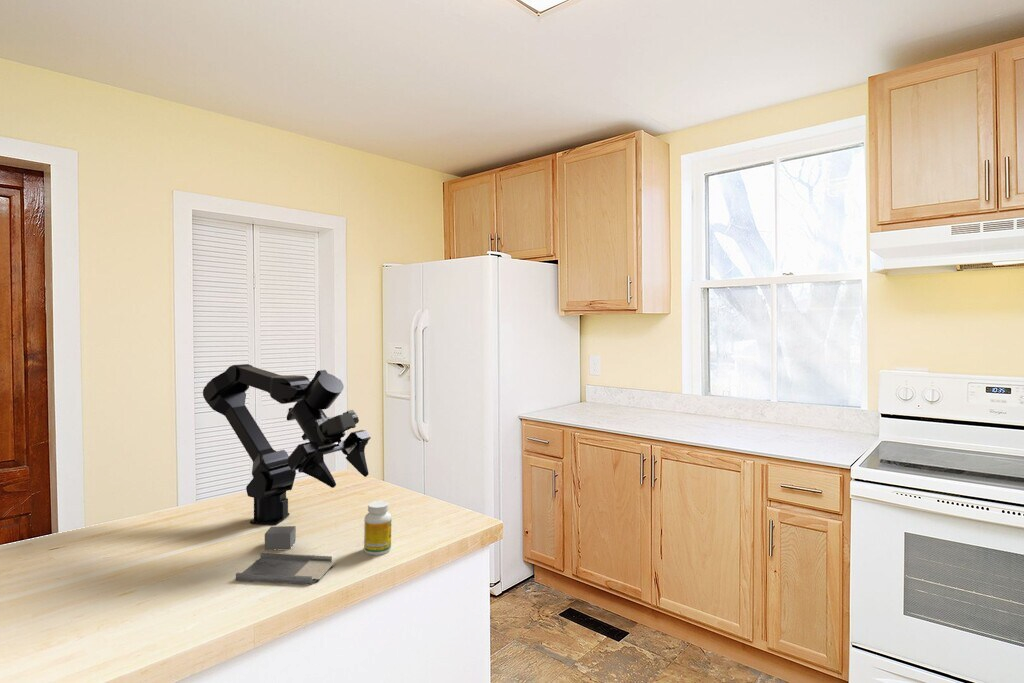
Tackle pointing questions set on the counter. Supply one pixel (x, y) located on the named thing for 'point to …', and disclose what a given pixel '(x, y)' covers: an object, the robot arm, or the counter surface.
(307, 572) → the grey flat tray
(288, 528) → the block
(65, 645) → the counter surface
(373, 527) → the supplement bottle
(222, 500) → the counter surface
